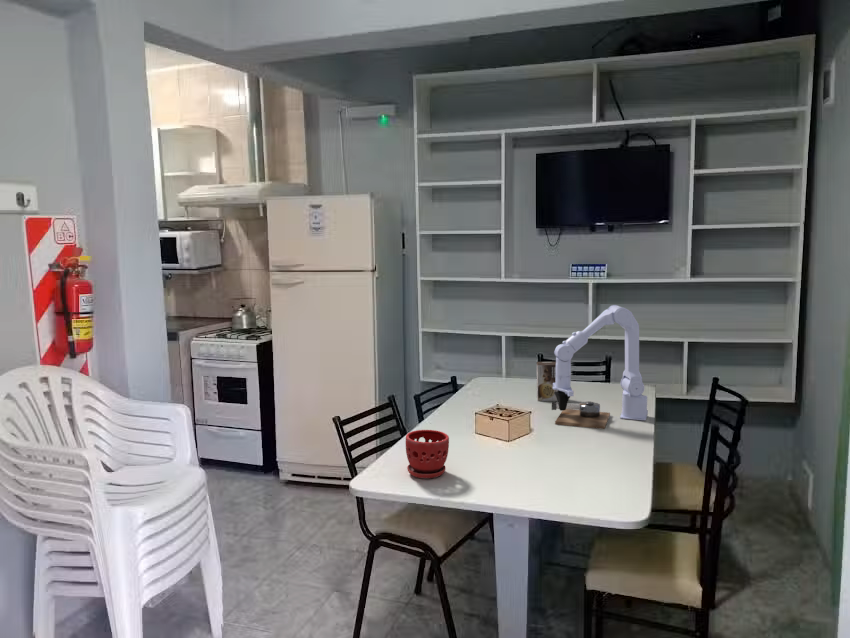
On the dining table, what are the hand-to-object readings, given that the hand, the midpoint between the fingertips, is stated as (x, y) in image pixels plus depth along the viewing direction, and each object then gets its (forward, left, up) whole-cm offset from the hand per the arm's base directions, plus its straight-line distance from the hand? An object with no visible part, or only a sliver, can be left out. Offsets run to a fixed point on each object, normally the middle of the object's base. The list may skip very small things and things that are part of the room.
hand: (562, 410), depth 241 cm
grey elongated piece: (-4, -3, -2) cm, 6 cm away
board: (-8, -1, -4) cm, 8 cm away
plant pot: (+28, +69, -4) cm, 75 cm away
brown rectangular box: (+11, -27, -4) cm, 29 cm away
